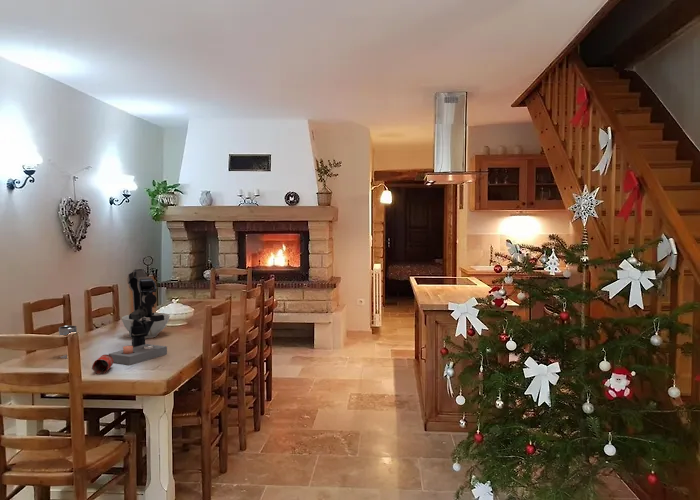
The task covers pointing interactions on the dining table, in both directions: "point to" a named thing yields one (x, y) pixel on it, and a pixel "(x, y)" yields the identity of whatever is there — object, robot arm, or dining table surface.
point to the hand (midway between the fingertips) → (146, 333)
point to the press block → (138, 354)
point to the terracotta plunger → (127, 349)
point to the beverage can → (102, 364)
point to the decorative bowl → (156, 326)
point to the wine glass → (67, 332)
